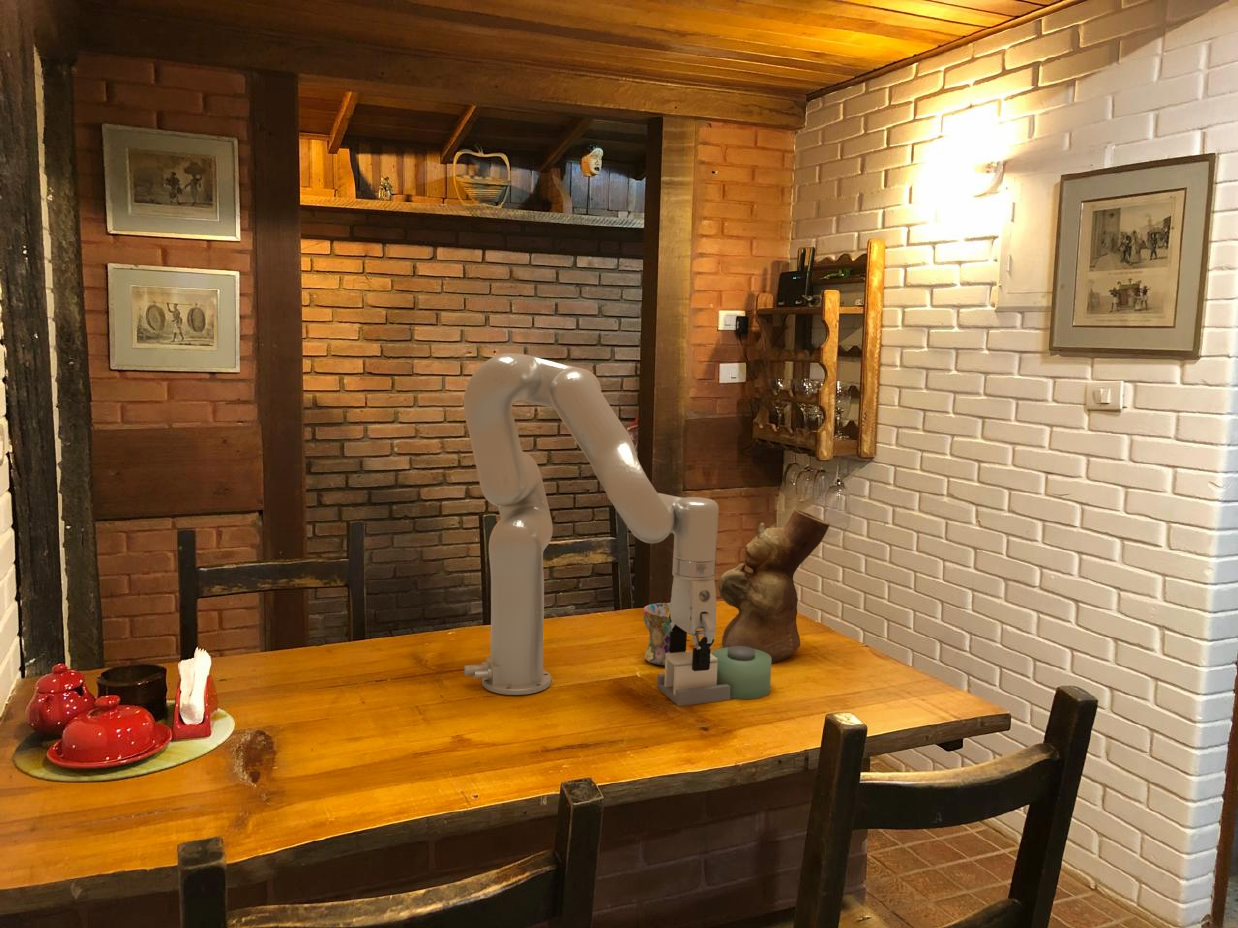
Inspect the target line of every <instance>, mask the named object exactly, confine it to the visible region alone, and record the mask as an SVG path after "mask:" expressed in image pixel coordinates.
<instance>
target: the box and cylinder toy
mask: <svg viewBox="0 0 1238 928" xmlns="http://www.w3.org/2000/svg"><path fill="white" fill-rule="evenodd" d="M711 654H712V655H713V656H715V657H716V658H718V664H717V685H715V686H706V687H697V688H689V689H680V690H676V696H675V695H674V694H673V691H674V686H673V687H665V686H664V683H665V673H658V674H657V677H656V678H657V680H656V681H657V683H656V685H657V686H656V687H657V689H658V690H659V691H660V692H661V693H663V695H665V696H666V697H668V698H669V699H670V700H671V702H673V703H674V704H675V705H676V706H677V707H683V706H691V705H700V704H701V705H702V704H707V703H709V704H710V703H716V702H724V701H730V700H731V699H735V700H756V699H761V698H764V697H767V696H768V695H769V694H770V692H771V679H772V663H771V661H772V658H771V656H770V655H769V654H767V653H765V652H763V651H760V650H757V649H753V648H750V647H746V646H732V647H726V648H722V647H721V648H717V649H715V650H713V651H711Z"/></svg>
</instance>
